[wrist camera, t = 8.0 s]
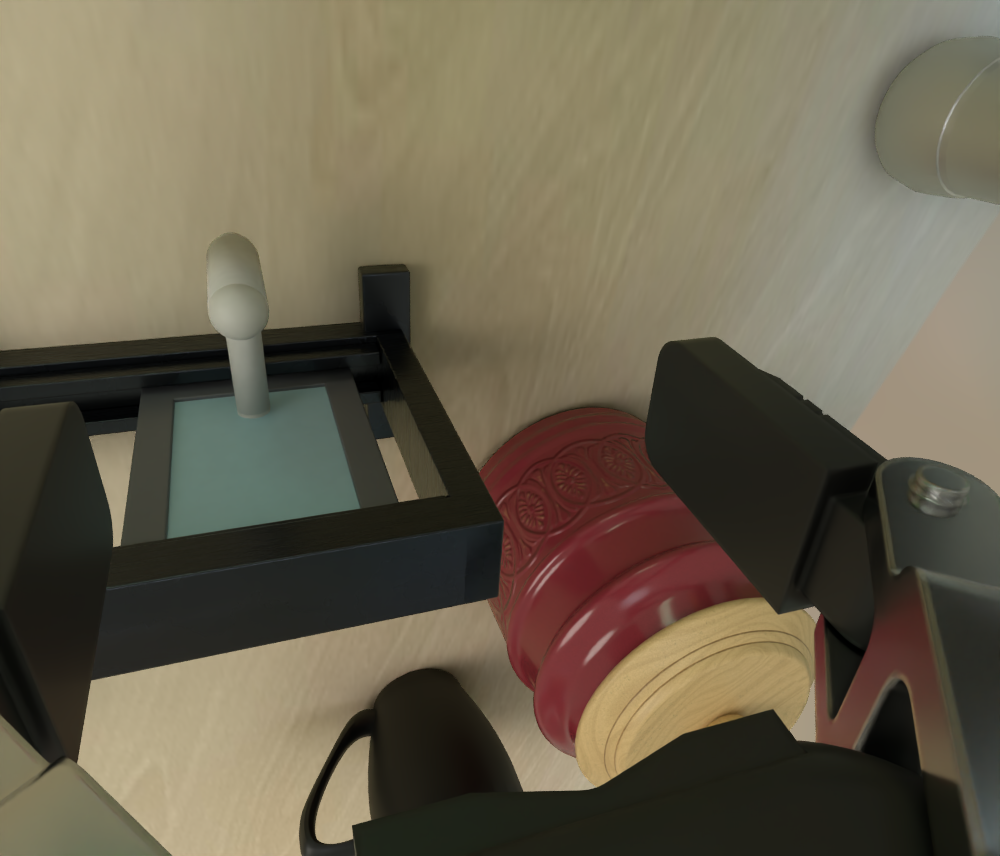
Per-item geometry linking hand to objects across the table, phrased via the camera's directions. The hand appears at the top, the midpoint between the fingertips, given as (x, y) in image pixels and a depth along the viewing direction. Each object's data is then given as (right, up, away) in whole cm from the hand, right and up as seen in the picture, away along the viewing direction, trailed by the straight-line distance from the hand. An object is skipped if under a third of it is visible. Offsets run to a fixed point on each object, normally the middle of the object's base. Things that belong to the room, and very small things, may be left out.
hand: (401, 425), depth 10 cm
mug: (-6, -17, +35) cm, 39 cm away
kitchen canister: (+5, -4, +31) cm, 32 cm away
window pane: (-9, +5, +18) cm, 20 cm away
